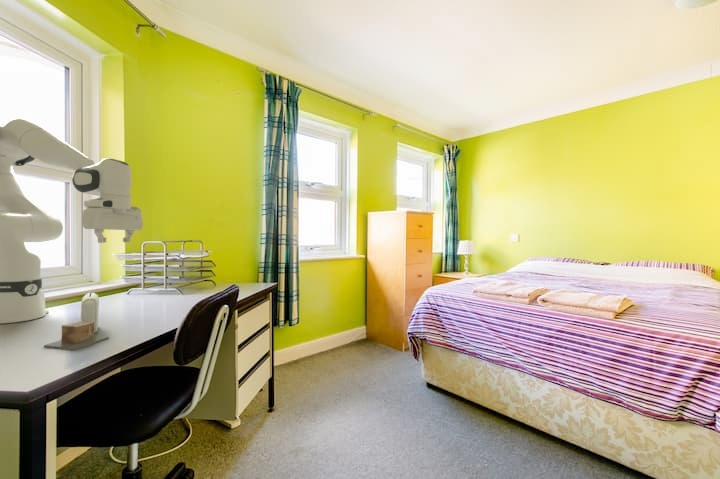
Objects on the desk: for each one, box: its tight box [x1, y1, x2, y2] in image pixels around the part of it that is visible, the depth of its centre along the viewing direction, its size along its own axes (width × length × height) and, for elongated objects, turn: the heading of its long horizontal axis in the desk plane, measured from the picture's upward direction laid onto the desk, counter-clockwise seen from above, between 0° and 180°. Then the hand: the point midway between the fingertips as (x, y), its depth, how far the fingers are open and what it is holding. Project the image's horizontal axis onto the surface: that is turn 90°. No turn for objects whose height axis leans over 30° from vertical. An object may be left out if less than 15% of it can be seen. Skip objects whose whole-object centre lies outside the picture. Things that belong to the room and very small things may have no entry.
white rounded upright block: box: [80, 292, 100, 334], centre depth 101 cm, size 10×4×12 cm, turn 39°
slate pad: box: [43, 334, 110, 351], centre depth 90 cm, size 10×10×1 cm
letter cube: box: [61, 320, 95, 344], centre depth 90 cm, size 5×5×5 cm
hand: (114, 242), depth 109 cm, fingers open, 8 cm apart
